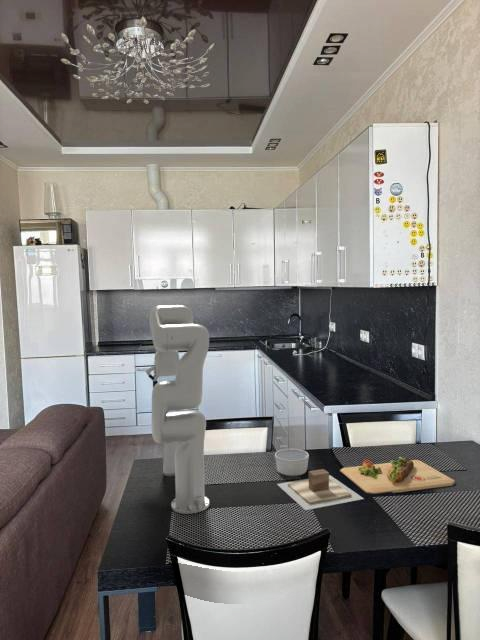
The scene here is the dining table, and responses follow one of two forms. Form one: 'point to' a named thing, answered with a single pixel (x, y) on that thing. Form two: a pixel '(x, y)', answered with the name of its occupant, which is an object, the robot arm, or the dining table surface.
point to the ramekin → (291, 461)
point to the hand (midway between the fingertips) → (167, 389)
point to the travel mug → (169, 458)
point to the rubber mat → (322, 504)
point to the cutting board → (396, 476)
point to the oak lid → (319, 488)
